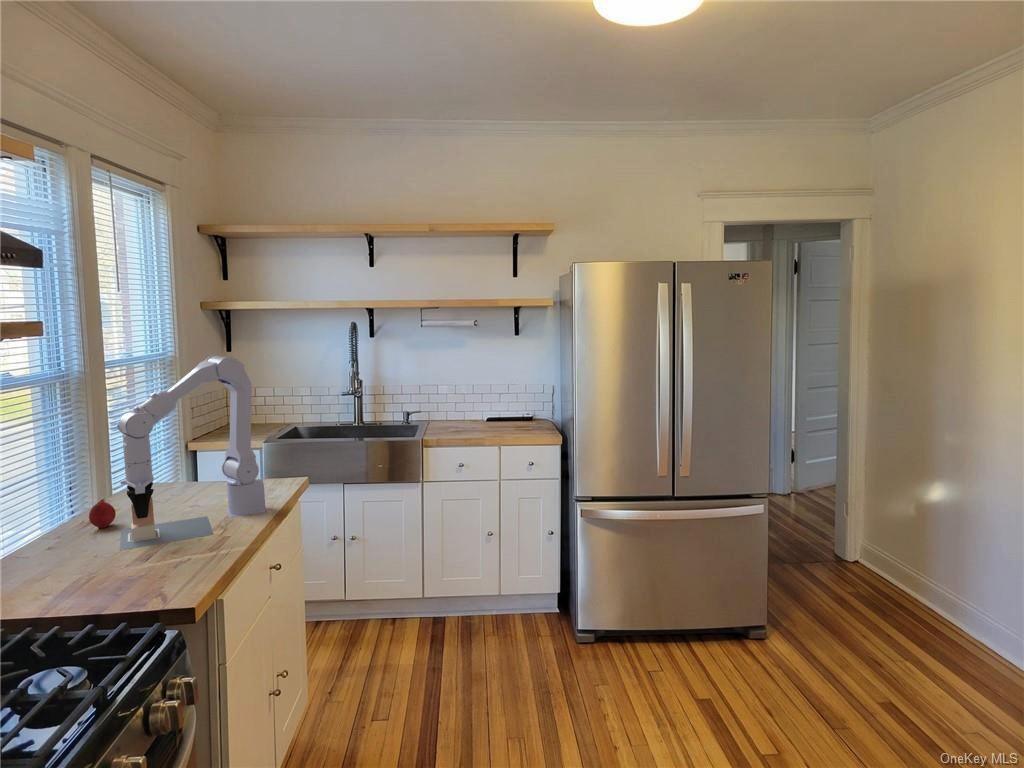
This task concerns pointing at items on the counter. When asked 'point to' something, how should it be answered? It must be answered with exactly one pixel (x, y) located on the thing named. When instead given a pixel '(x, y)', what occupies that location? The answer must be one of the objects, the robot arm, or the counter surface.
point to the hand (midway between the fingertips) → (142, 514)
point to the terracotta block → (143, 520)
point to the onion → (102, 514)
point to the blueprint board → (164, 532)
